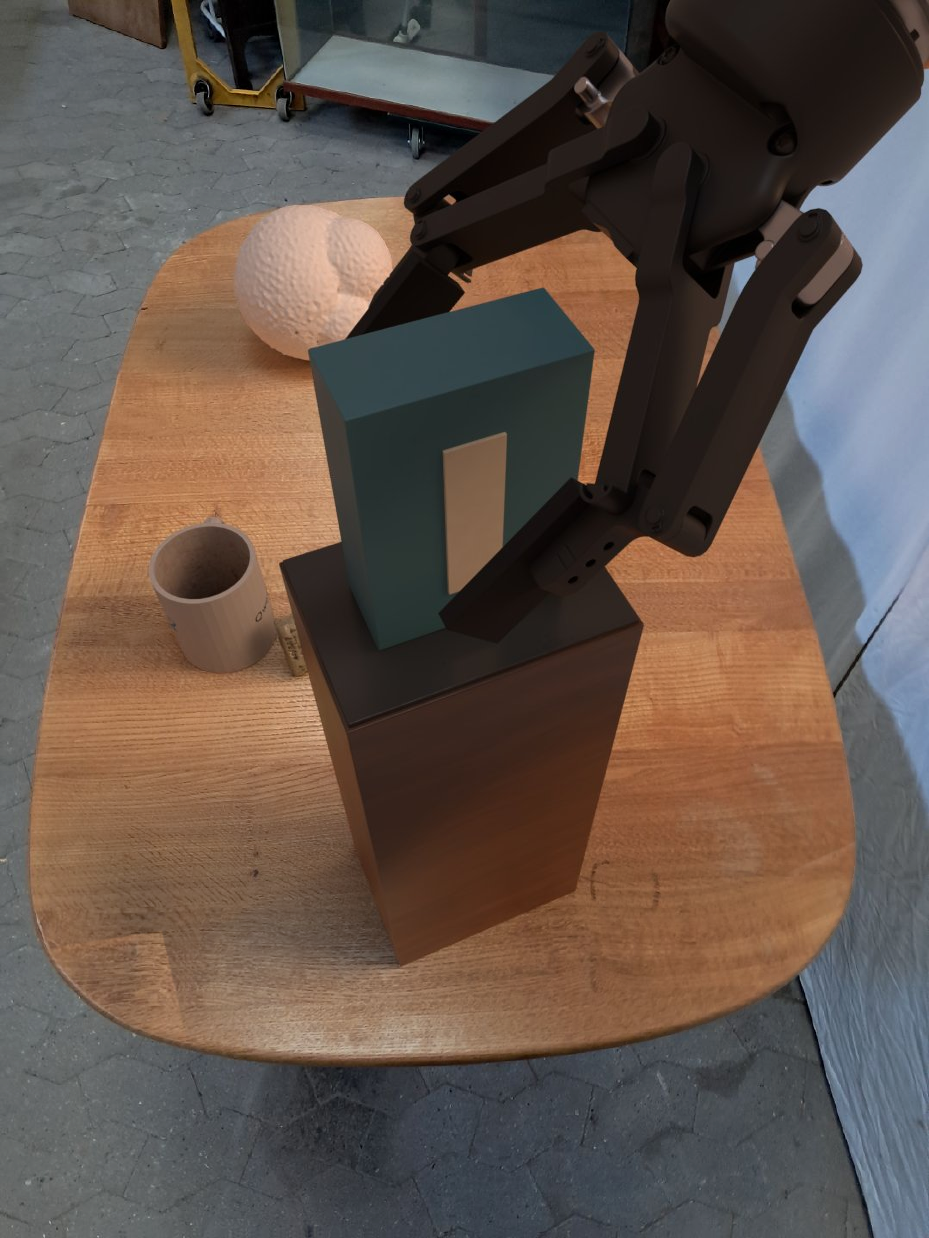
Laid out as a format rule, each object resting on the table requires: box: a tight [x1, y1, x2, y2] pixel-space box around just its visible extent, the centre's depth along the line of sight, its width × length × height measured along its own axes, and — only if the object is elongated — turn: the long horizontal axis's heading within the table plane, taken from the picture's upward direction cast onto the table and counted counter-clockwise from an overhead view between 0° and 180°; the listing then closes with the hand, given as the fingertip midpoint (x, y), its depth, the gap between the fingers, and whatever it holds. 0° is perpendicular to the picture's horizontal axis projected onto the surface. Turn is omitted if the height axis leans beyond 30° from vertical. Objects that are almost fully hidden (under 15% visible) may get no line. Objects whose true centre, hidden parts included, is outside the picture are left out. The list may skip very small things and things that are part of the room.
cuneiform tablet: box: [274, 613, 308, 677], centre depth 78 cm, size 7×4×12 cm
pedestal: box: [278, 541, 645, 967], centre depth 55 cm, size 10×14×34 cm
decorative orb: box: [232, 204, 394, 362], centre depth 100 cm, size 20×18×16 cm
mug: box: [148, 515, 277, 674], centre depth 79 cm, size 12×9×10 cm
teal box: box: [308, 287, 596, 651], centre depth 36 cm, size 4×9×13 cm, turn 113°
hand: (398, 499), depth 35 cm, fingers open, 13 cm apart
